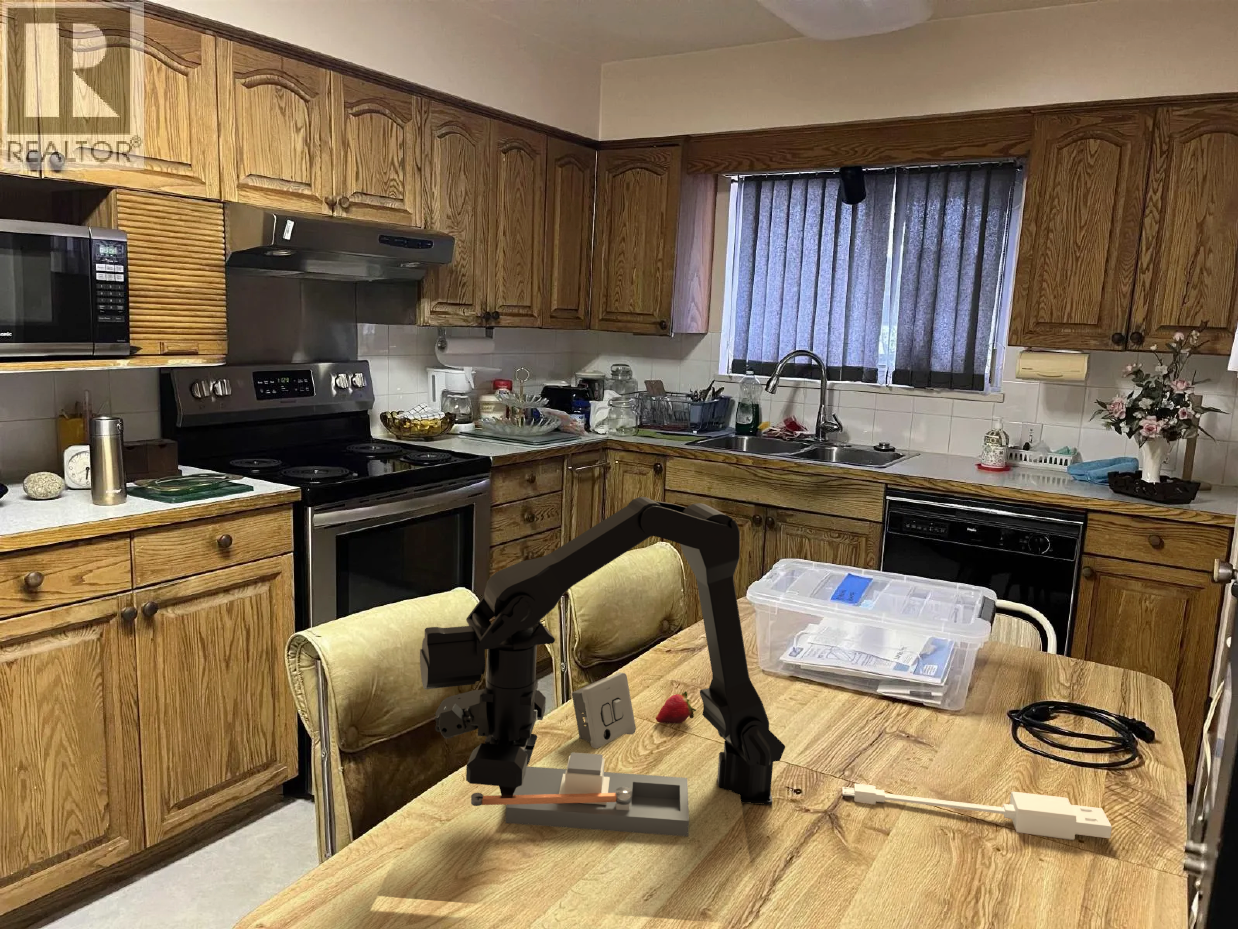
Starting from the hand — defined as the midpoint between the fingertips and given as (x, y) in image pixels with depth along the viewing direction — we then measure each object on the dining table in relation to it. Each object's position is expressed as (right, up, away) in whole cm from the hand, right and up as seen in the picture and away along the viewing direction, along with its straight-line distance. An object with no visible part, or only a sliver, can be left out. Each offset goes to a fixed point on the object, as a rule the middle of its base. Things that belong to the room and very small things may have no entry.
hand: (506, 798), depth 110 cm
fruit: (+22, 0, +31) cm, 38 cm away
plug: (+9, -3, +5) cm, 11 cm away
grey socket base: (+11, -4, +5) cm, 13 cm away
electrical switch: (+11, 0, +24) cm, 27 cm away
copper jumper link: (+6, 0, 0) cm, 5 cm away
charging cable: (+60, -6, +9) cm, 61 cm away
